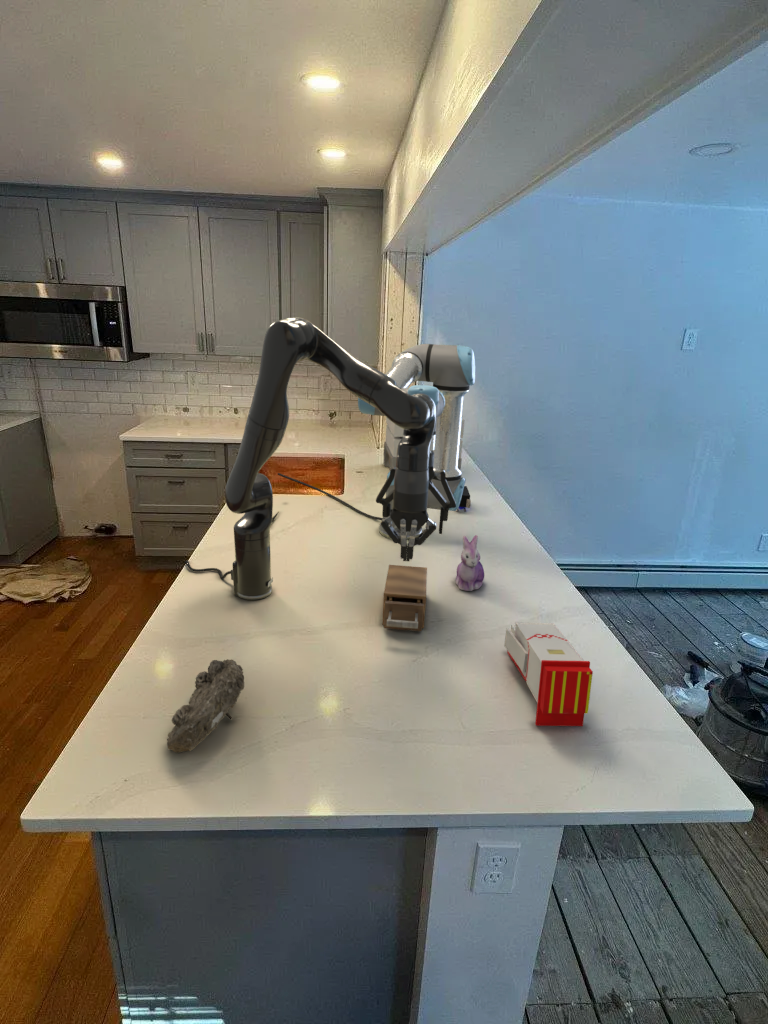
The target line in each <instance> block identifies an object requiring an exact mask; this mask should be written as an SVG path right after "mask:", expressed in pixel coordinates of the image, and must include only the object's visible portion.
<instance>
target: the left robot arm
mask: <svg viewBox="0 0 768 1024" xmlns="http://www.w3.org/2000/svg"><path fill="white" fill-rule="evenodd" d="M305 360H306V361H308V362H312V363H314V364H316V365H319V366H321V367H322V368H324V369H326V370H327V371H328V372H329V373H331V374H332V375H333V376H334V377H335V378H336V379H337V381H339V383H340V384H341V385H342V387H344V388H345V389H346V390H347V391H348V392H349V393H351V394H352V395H353V396H355V397H357V399H358V398H360V399H361V400H363V401H365V402H366V403H368V404H370V405H372V406H373V407H375V408H377V409H378V410H379V411H380V412H381V413H382V414H383V415H385V416H384V417H385V418H386V417H387V418H388V419H389V420H390V421H392V422H393V423H394V424H395V425H397V426H399V427H400V428H402V429H404V431H403V437H402V439H401V441H400V442H399V444H398V447H397V460H396V471H395V477H394V495H393V509H392V511H391V513H390V516H389V517H387V518H383V517H382V518H383V519H382V520H380V523H381V526H382V527H383V529H384V530H385V531H386V533H387V534H388V535H389V537H390V538H391V539H390V538H389V539H390V540H391V541H392V542H393V544H398V545H399V546H400V553H399V554H400V555H399V556H400V559H401V560H402V562H408V563H409V562H410V560H413V559H414V547H416V546H421V545H423V543H424V542H425V541H426V540H427V539H428V538H429V537H430V536H431V535H432V534H433V533H434V532H435V531H437V522H436V521H433V520H432V519H430V518H429V513H428V508H427V500H428V487H429V456H430V444H431V440H432V436H433V431H434V427H435V421H436V406H435V403H434V401H433V400H432V398H431V397H430V396H428V395H426V394H423V393H417V394H414V395H410V394H408V393H406V392H405V391H403V390H402V389H400V388H399V387H397V383H396V382H395V381H394V380H393V379H392V378H390V377H389V376H387V375H385V374H386V373H384V372H382V371H380V370H378V369H377V368H375V367H373V366H371V365H370V364H368V363H366V362H365V361H363V360H362V359H359V358H358V357H357V356H355V355H353V354H352V353H351V352H349V351H348V350H346V349H345V348H344V347H342V346H341V345H340V344H339V343H338V342H336V341H335V340H333V339H332V338H331V337H329V336H328V335H327V333H325V332H324V331H322V330H321V329H320V328H319V327H317V326H316V325H315V324H314V323H313V322H311V321H310V320H308V319H306V318H305V317H301V316H293V317H288V318H282V319H279V320H276V321H273V323H271V324H270V325H269V326H268V327H267V330H266V332H265V335H264V338H263V344H262V350H261V358H260V364H259V372H258V376H257V380H256V385H255V388H254V392H253V396H252V400H251V404H250V407H249V411H248V414H247V418H246V422H245V425H244V431H243V435H242V438H241V442H240V445H239V449H238V452H237V455H236V458H235V460H234V463H233V467H232V469H231V471H230V473H229V476H228V478H227V482H226V485H225V489H224V500H225V504H226V506H227V508H228V509H229V511H230V512H232V513H233V514H238V515H240V514H242V517H241V518H240V519H238V520H237V521H236V522H235V523H234V525H233V539H234V559H235V560H234V561H233V562H232V569H230V570H229V571H226V572H225V573H224V574H223V572H222V570H221V569H219V568H217V567H208V568H193V567H192V566H191V565H190V561H189V560H185V561H184V562H183V564H186V566H187V568H188V570H189V571H191V572H195V573H202V572H203V573H204V572H210V571H211V572H218V574H219V578H221V579H225V578H227V576H228V575H230V580H232V581H233V596H237V597H239V598H240V599H243V600H245V601H246V600H248V601H256V600H257V601H258V600H263V599H265V598H267V597H269V596H270V595H271V594H272V591H273V587H272V586H273V585H272V584H273V582H274V577H273V576H272V563H271V562H272V561H271V560H272V559H271V532H270V531H271V526H272V525H273V523H272V518H273V510H274V509H273V507H274V494H273V486H272V483H271V481H270V480H269V478H268V477H267V476H266V475H265V474H264V473H261V472H260V471H261V470H262V468H263V467H264V465H265V463H267V462H268V461H269V459H270V458H271V457H272V456H273V455H274V454H275V452H276V451H277V450H278V448H279V447H280V445H281V444H282V442H283V439H284V437H285V433H286V430H287V428H288V424H289V421H290V405H289V400H288V393H287V392H288V386H289V382H290V379H291V376H292V373H293V371H294V368H295V366H296V364H297V363H299V362H302V361H305ZM392 521H393V522H394V524H395V525H396V527H397V528H398V529H399V530H400V531H401V537H400V536H399V535H398V534H397V532H396V531H395V530H394V528H393V527H392ZM423 526H425V529H424V530H422V533H421V534H420V535H419V536H418V537H416V538H415V534H416V532H417V531H419V530H420V529H421V527H422V528H423ZM408 531H409V532H410V537H409V540H407V532H408ZM187 563H188V564H187Z"/></svg>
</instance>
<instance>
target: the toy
mask: <svg viewBox="0 0 768 1024" xmlns="http://www.w3.org/2000/svg"><path fill="white" fill-rule="evenodd" d="M503 645H504V647H505V649H506V650H507V655H508V656H509V658H510V659H511V662H513V664H514V666H515V667H516V669H517V670H518V672H519V673H520V675H521V676H522V679H523V680H524V681H525V683H526V686H527V687H528V689H529V690H530V693H531V694H532V696H533V698H534V700H535V701H536V703H537V704H536V714H535V722H534V723H535V726H537V727H541V726H542V727H583V726H584V719H585V715H586V714H587V715H588V714H589V706H590V705H589V704H590V699H591V691H592V683H593V682H592V681H593V674H594V673H593V672H594V671H593V670H592V669H591V668H590V667H591V661H590V660H584V659H583V658H582V657H581V655H580V654H579V653H578V651H577V650H576V649H575V648H574V647H573V645H572V644H571V643H570V642H569V640H568V639H567V638H566V636H564V633H562V632H561V630H560V629H559V628H558V627H557V625H556V624H555V623H553V622H515V624H511V625H510V628H506V630H505V638H504V644H503Z"/></svg>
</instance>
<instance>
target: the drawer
mask: <svg viewBox="0 0 768 1024" xmlns="http://www.w3.org/2000/svg"><path fill="white" fill-rule="evenodd" d="M422 616H423V604H421V603H420V599H413V598H401V597H389V601H385V614H384V625H383V629H387V630H388V629H389V630H390V629H391V630H400V631H410V632H411V631H412V632H413V631H414V632H422V629H423V628H422Z"/></svg>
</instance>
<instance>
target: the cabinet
mask: <svg viewBox="0 0 768 1024" xmlns="http://www.w3.org/2000/svg"><path fill="white" fill-rule="evenodd" d="M427 584H428V567H427V566H426V567H424V566H411V565H399V564H397V565H396V564H389V565H388V569H387V574H386V578H385V585H384V591H383V599H382V600H383V603H382V604H383V605H382V623H381V624H382V626H384V614H385V601H389V597H401V598H413V599H420V603H421V604H423V616H422V629H424V628H425V619H426V618H425V617H426V605H427V587H428V585H427Z"/></svg>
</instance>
